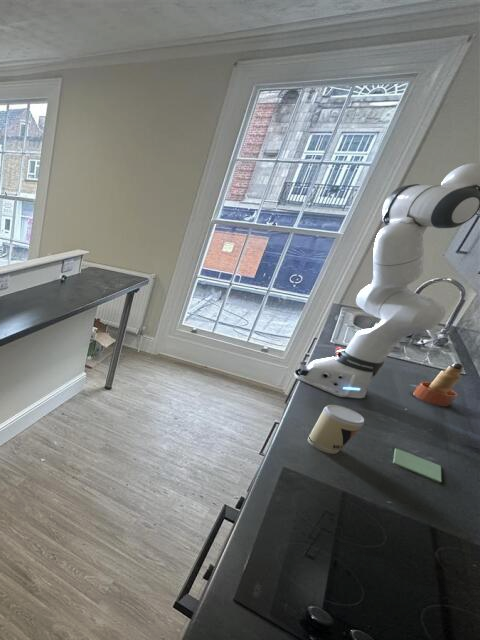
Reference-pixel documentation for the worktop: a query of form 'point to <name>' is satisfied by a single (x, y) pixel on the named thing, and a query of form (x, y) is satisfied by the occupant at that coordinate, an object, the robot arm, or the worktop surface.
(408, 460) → the plate
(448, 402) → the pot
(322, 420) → the coffee cup
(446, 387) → the pepper mill
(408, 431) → the worktop surface
